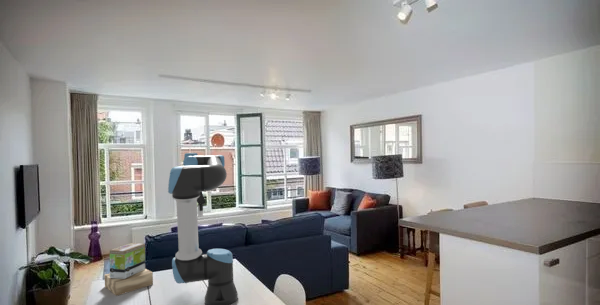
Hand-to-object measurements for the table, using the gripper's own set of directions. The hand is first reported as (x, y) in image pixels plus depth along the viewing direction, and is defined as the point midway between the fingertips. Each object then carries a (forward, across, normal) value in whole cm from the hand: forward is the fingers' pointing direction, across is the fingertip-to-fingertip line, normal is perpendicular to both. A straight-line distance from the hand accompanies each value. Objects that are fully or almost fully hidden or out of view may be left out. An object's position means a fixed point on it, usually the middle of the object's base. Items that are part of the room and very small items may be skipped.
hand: (192, 215), depth 186 cm
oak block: (+35, +18, +28) cm, 48 cm away
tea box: (+28, +18, +29) cm, 44 cm away
